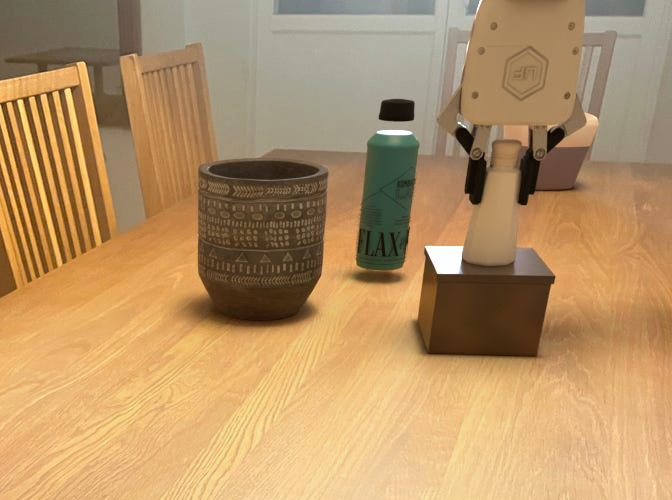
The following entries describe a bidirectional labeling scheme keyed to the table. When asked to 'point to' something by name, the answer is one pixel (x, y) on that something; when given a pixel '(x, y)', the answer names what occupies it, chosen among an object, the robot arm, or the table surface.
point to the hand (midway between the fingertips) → (497, 200)
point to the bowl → (558, 154)
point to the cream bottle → (496, 210)
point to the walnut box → (483, 303)
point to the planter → (261, 234)
